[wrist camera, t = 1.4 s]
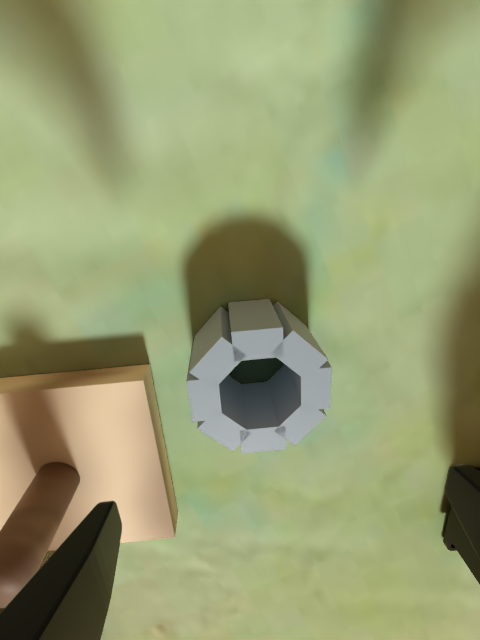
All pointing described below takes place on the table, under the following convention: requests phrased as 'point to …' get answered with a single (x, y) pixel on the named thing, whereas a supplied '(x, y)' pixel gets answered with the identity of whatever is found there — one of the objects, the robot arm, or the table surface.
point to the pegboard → (78, 463)
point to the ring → (262, 397)
